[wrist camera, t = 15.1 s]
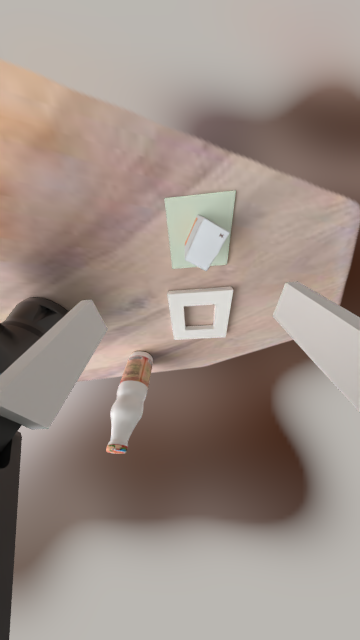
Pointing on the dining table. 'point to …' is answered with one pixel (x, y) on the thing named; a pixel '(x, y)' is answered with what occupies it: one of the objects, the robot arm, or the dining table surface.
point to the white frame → (195, 298)
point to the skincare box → (204, 242)
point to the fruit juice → (129, 400)
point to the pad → (183, 217)
